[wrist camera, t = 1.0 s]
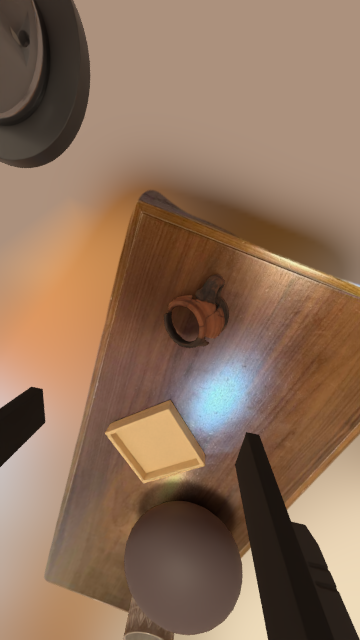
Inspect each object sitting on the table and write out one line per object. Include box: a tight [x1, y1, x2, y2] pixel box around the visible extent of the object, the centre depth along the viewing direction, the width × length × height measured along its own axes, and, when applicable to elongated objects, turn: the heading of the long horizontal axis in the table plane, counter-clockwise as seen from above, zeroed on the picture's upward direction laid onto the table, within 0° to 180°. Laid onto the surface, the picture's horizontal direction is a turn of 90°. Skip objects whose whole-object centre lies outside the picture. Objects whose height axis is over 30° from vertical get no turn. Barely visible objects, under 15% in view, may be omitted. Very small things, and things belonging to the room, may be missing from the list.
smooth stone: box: [124, 501, 242, 635], centre depth 38 cm, size 25×25×15 cm
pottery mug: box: [164, 274, 229, 348], centre depth 28 cm, size 12×10×8 cm
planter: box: [124, 596, 174, 640], centre depth 49 cm, size 13×13×10 cm
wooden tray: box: [105, 400, 205, 483], centre depth 38 cm, size 16×16×2 cm
